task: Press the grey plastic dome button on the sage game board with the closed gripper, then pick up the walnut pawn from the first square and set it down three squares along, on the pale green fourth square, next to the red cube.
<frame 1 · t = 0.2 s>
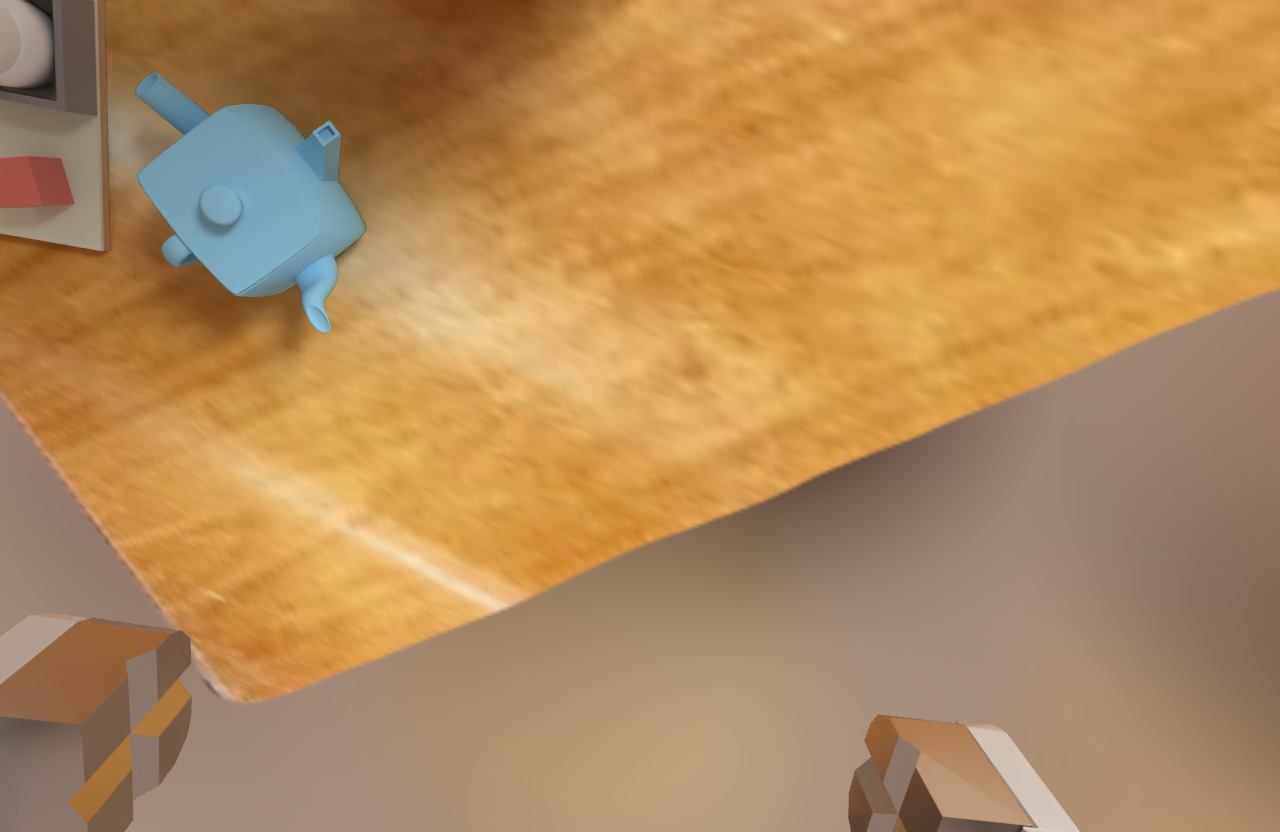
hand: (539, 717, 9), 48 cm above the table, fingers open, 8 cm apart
red cube: (45, 183, 50), point 1 cm above the table, touching board
teapot: (301, 198, 52), on the table
board: (4, 74, 48), on the table
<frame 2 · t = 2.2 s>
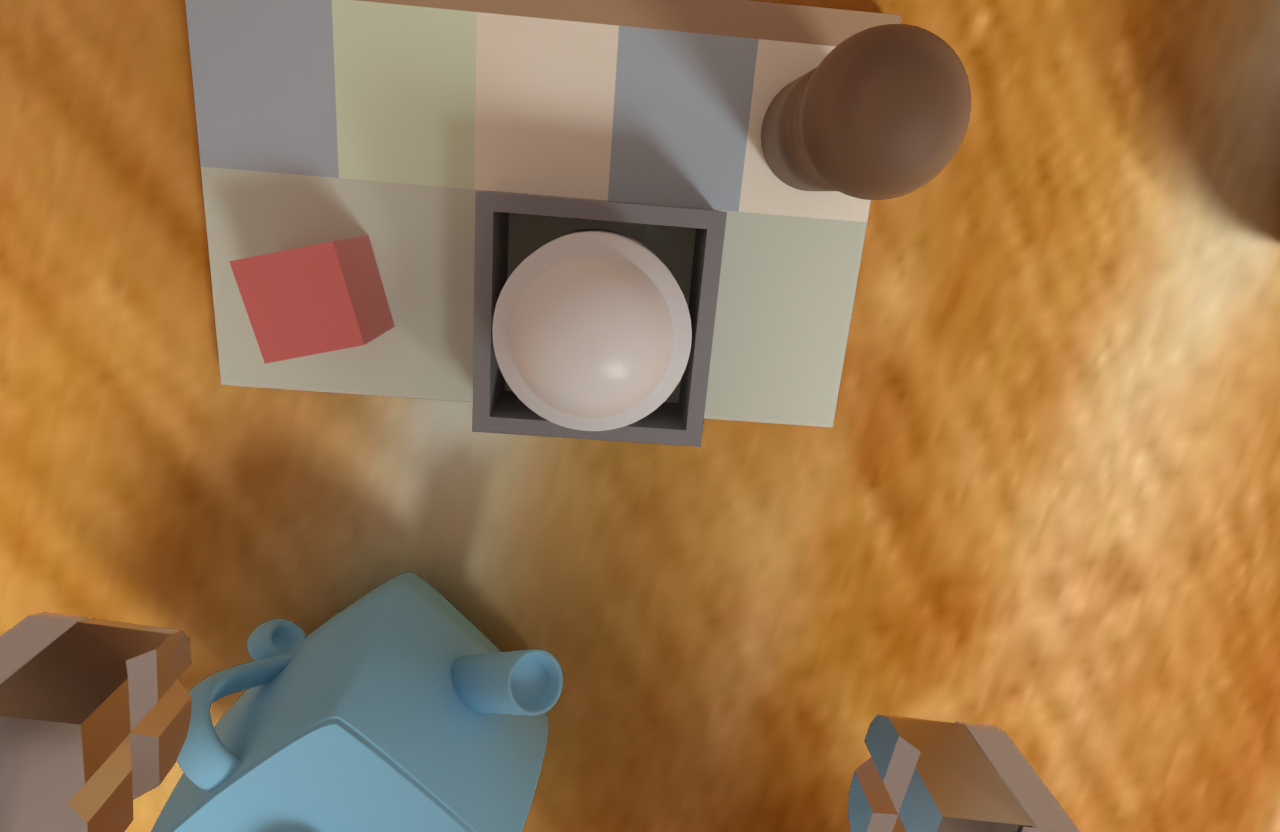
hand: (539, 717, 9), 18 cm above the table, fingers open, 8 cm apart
red cube: (337, 290, 24), point 1 cm above the table, touching board
teapot: (415, 692, 30), on the table
dome: (593, 334, 20), point 5 cm above the table, slide at 0.0 cm
board: (543, 210, 24), on the table
pawn: (815, 134, 22), point 1 cm above the table, touching board
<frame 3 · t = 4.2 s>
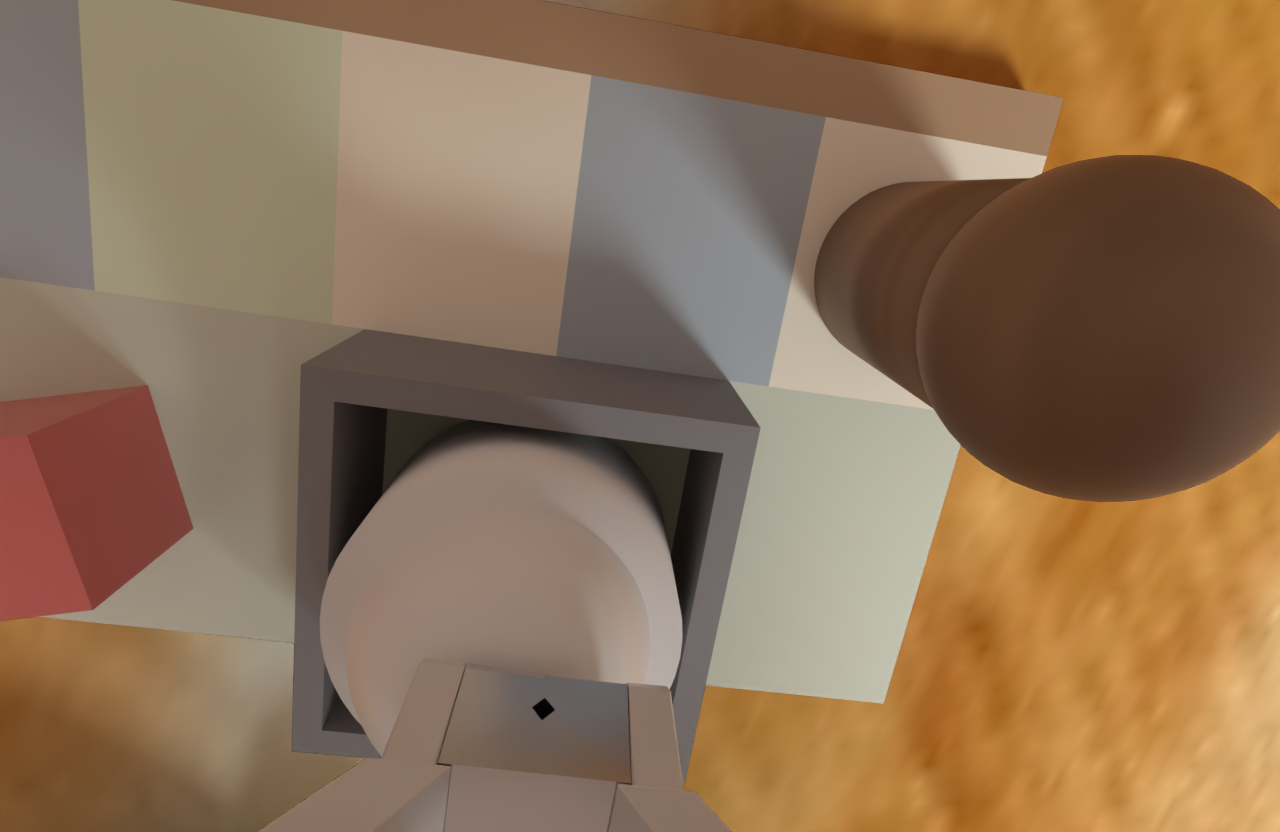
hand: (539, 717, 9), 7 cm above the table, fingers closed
red cube: (94, 467, 14), point 1 cm above the table, touching board
dome: (507, 624, 11), point 5 cm above the table, slide at 0.4 cm, touching gripper
board: (453, 355, 15), on the table
pawn: (903, 275, 14), point 1 cm above the table, touching board
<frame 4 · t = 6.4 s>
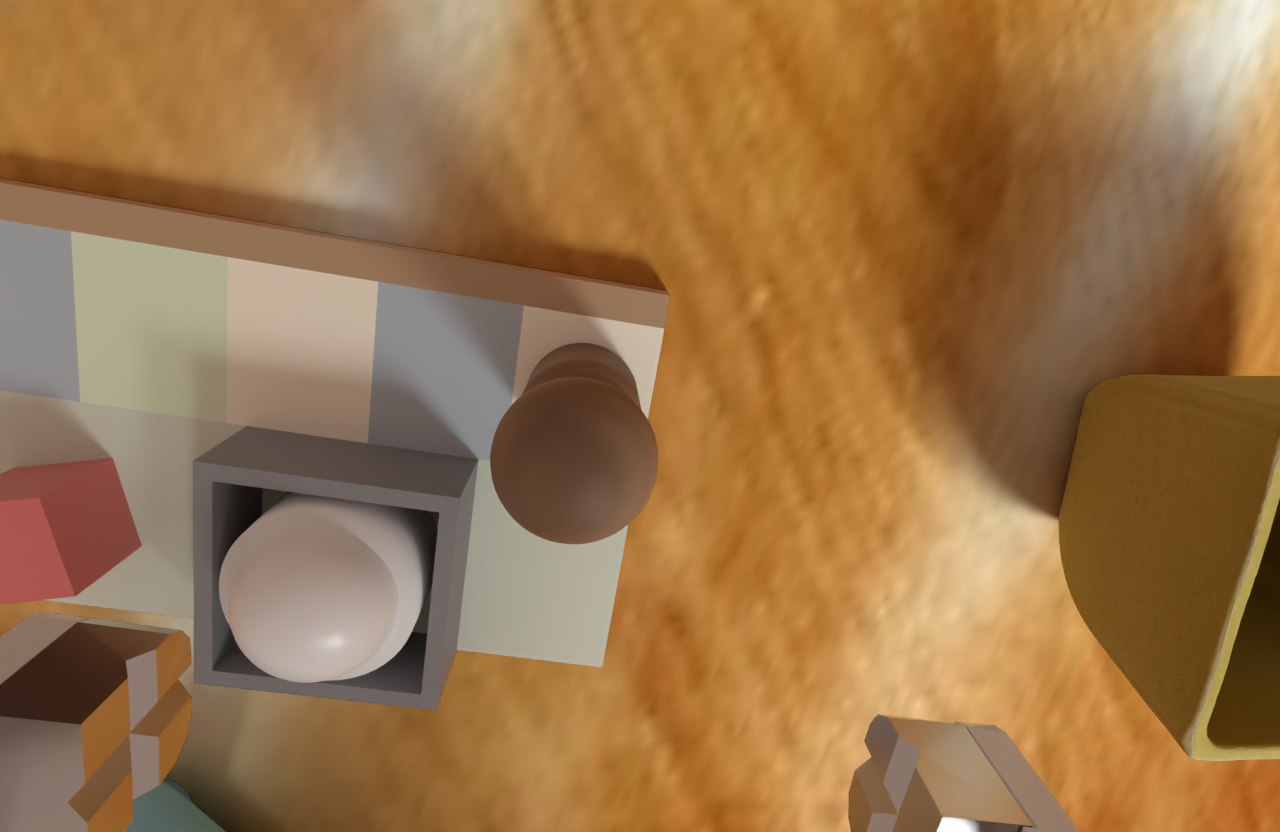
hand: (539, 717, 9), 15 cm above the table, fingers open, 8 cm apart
red cube: (79, 507, 22), point 1 cm above the table, touching board
dome: (324, 591, 21), point 4 cm above the table, slide at 1.3 cm
board: (309, 437, 23), on the table
pawn: (582, 397, 22), point 1 cm above the table, touching board
flower pot: (1135, 458, 25), on the table
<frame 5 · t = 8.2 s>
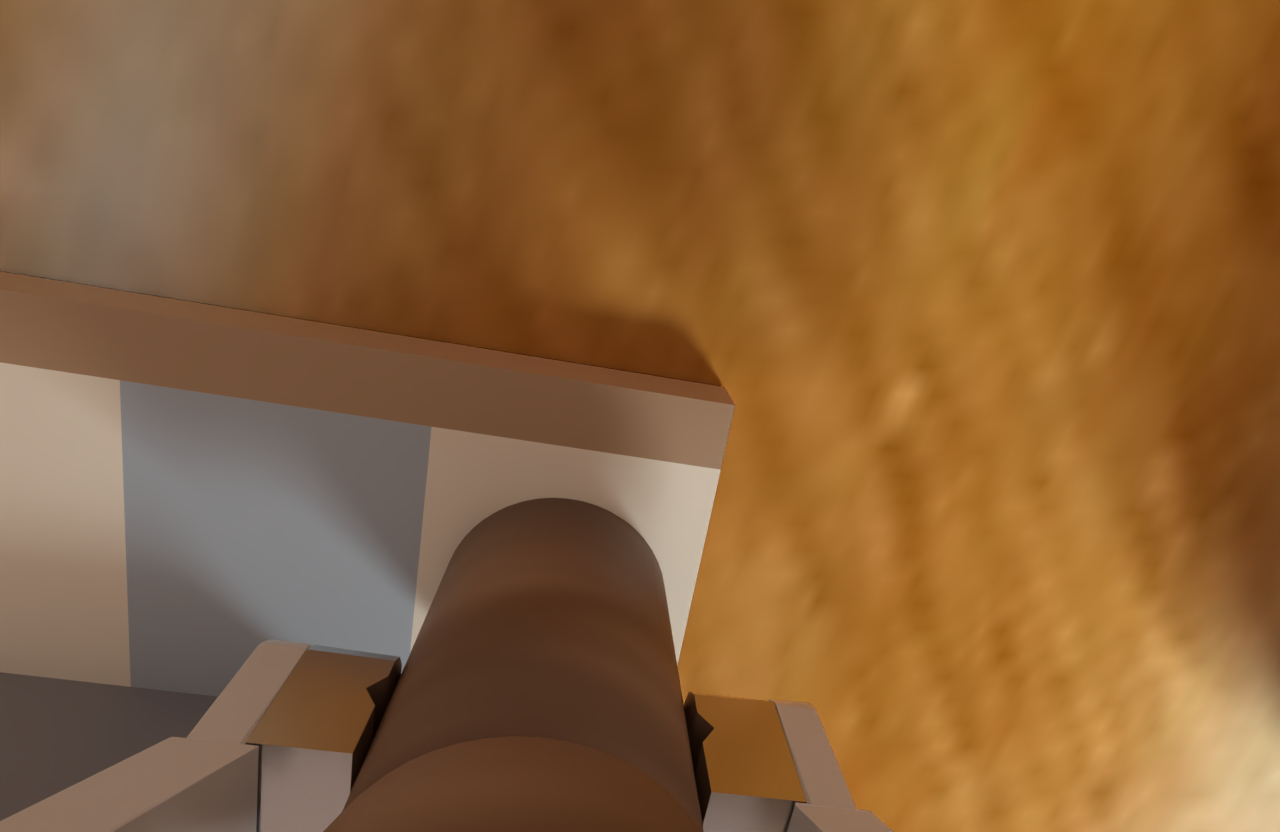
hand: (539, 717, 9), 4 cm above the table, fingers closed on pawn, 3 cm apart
board: (38, 658, 12), on the table
pawn: (554, 600, 11), point 1 cm above the table, touching board, gripper
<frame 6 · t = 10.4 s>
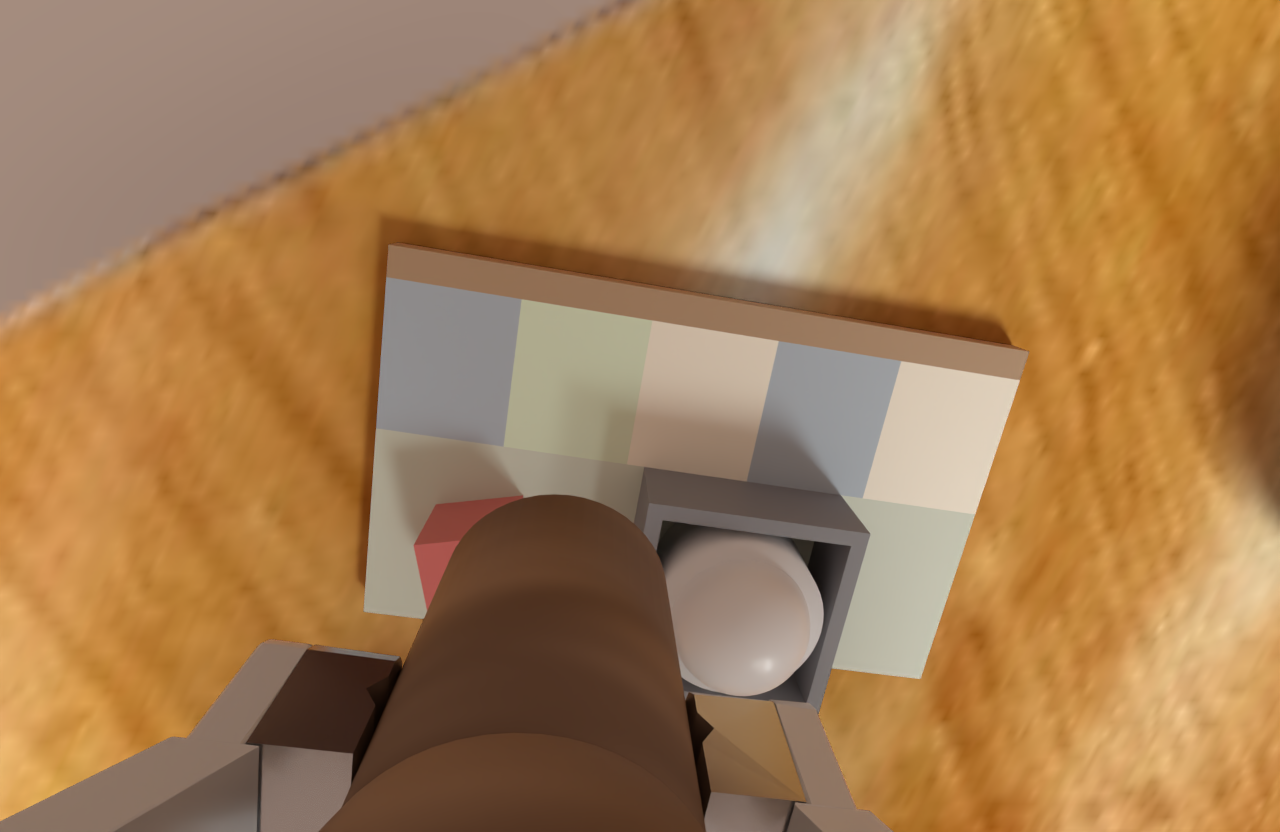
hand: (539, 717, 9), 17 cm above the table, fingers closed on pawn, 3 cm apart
red cube: (486, 539, 25), point 1 cm above the table, touching board
dome: (737, 614, 23), point 4 cm above the table, slide at 1.3 cm
board: (681, 475, 26), on the table
pawn: (556, 597, 11), point 14 cm above the table, touching gripper
when the fingers open (5 cm above the table, at t = 12.8 s): pawn drops 1 cm, resting on board.
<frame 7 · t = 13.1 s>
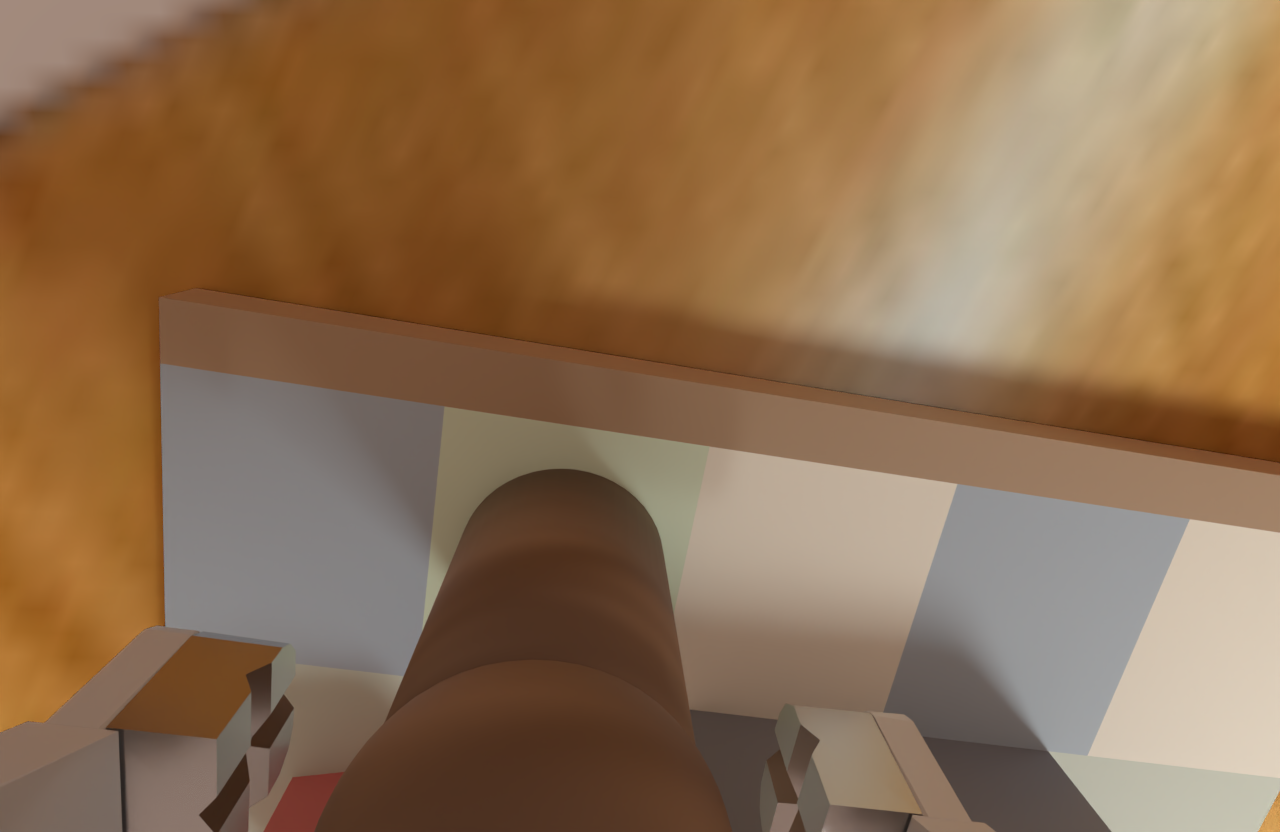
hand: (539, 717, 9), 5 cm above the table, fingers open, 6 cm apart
board: (750, 704, 14), on the table
pawn: (562, 563, 12), point 1 cm above the table, touching board
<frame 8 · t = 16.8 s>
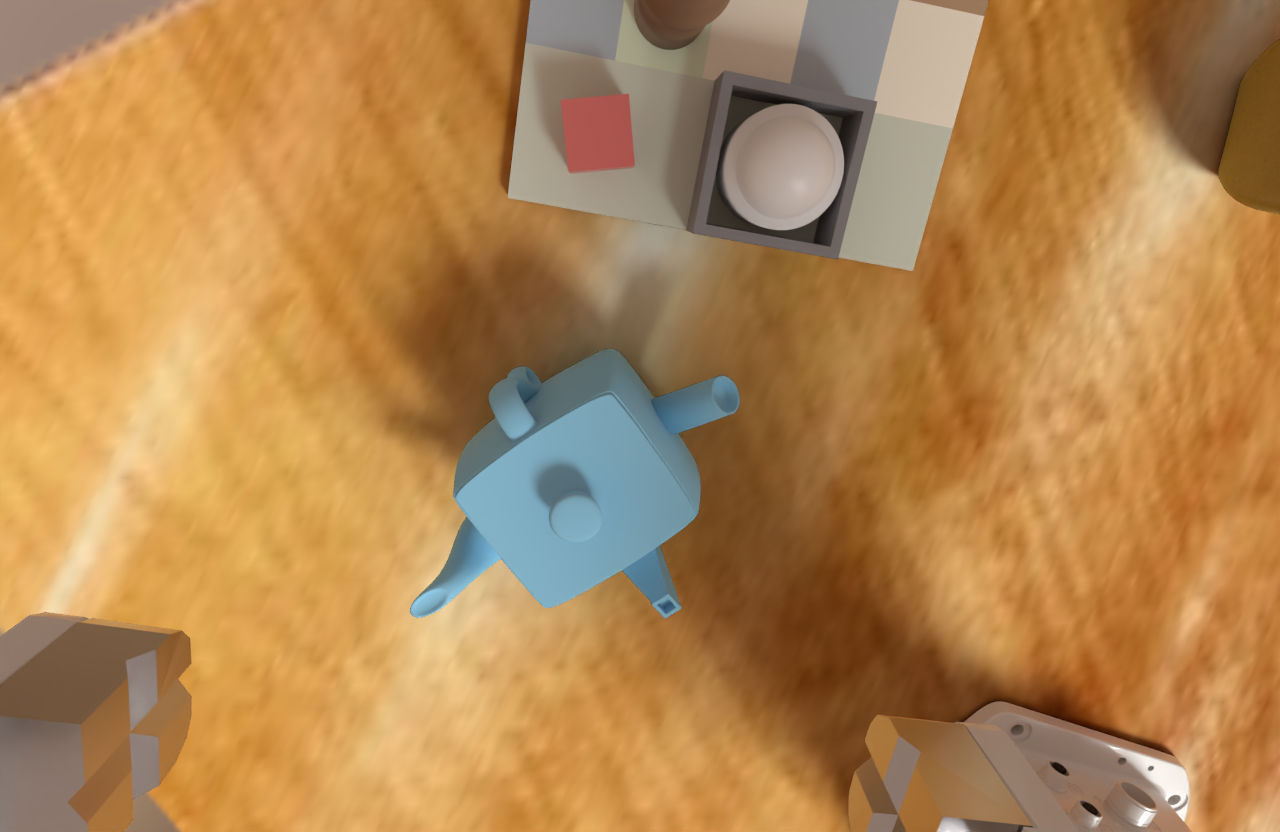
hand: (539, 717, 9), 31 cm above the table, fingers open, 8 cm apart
red cube: (599, 138, 35), point 1 cm above the table, touching board
teapot: (588, 452, 41), on the table
dome: (782, 168, 33), point 4 cm above the table, slide at 1.3 cm
board: (739, 100, 36), on the table
pawn: (670, 9, 33), point 1 cm above the table, touching board
flower pot: (1269, 131, 37), on the table
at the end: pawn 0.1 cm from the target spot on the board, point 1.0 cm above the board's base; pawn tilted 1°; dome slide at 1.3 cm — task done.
